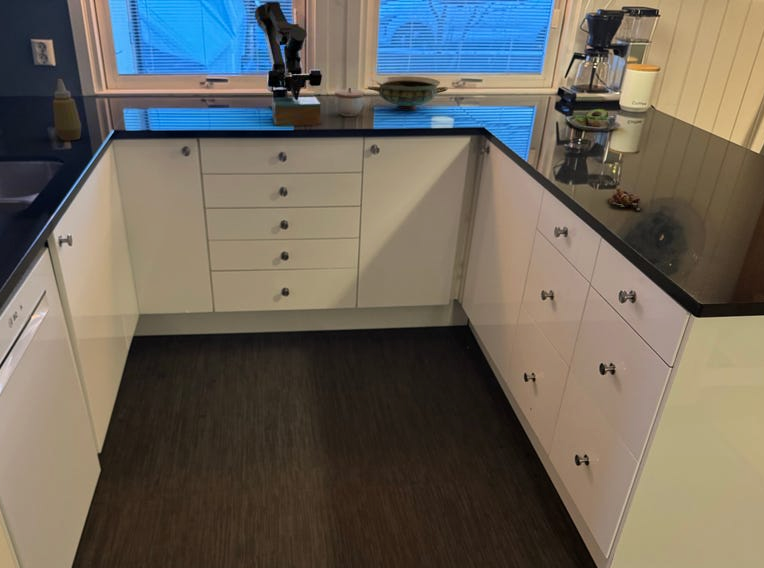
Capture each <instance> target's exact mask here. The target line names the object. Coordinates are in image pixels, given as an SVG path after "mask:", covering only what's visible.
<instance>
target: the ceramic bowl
mask: <svg viewBox="0 0 764 568" xmlns="http://www.w3.org/2000/svg"><path fill="white" fill-rule="evenodd" d="M375 82H376V84H377V85H379V86H372V85H371V86H367V89H368V90H370V91H375V92H378V94H379V96H380V98H382V99H383V100H385V101H386V102H388V103H390V104H393V105H397V106H396V107H395V108H396V109H397V110H401V111H416V110H417V109H418V107H417V106H420V105H423V104H426V103H428V102H431V101H432V100H433V99H435V97H436V96H437V95H438V94H440V93H444V92H446V91H448V89H449V88H448V87H447V86H441V87H438V86H439V85H441V81H440V80H438V79H434V78H431V77H430V78H429V77H423V76H405V75H404V76H403V75H402V76H399V75H398V76H387V77H386V76H385V77H380V78H378V79H377V80H376V81H375Z"/></svg>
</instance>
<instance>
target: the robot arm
mask: <svg viewBox="0 0 764 568" xmlns="http://www.w3.org/2000/svg"><path fill="white" fill-rule="evenodd" d="M254 19H255V20H256V22H257V26H258V28H260V30H261V31H262V32H263V33H264V37H265V41H266V45H267V50H268V54H269V59H270V64H271V70H268V71H267V79H266V82H267V83H266V85H267V91H269V92H270V93H272V98H289V95H288V94H289V93H291V94H292V97H294V98H295V100H298V97H300V93H301V90H302V89H303V88H305V87H306V82H307V81H308V84H309V86H310V87H319V86H321V85H322V79H323V72H322V70H321V69H309V73H303V67H302V59H301V51H302V50H303V47H304V45H305V42H306V39H307V31H306V30H305V29H304V28H303V27H300V25H299V23H290V22H289V21H288V20H287V18H286V16H285V14H284V12H283V10H282V8H281V3H280V2H278V1H267V2H265V3H264V4H261V5H258V6H257V7H256V9H255V10H254ZM281 46H283V52H282V47H281ZM270 106H271V107H272V104H271V105H270Z"/></svg>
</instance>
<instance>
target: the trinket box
mask: <svg viewBox="0 0 764 568" xmlns="http://www.w3.org/2000/svg"><path fill="white" fill-rule="evenodd" d="M334 97H335V98H334V99H335V107H336V110H337V111H338V112H339V113H340V115H341V116H344V117H356V116H358V114H359V113H360V112H361V111H362V109H363V107H364V101H365V91H362V90H359V89H352V87H348V89H340V90H336V91H335V92H334Z"/></svg>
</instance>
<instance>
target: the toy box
mask: <svg viewBox="0 0 764 568" xmlns="http://www.w3.org/2000/svg"><path fill="white" fill-rule="evenodd" d="M271 105H272V106H271V113H272V120H273V123H274V125H275V127H288V126H289V127H290V126H318V125H319V126H320V125H321V106H310V107H275V105H274V103H273V101H272V100H271Z"/></svg>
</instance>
